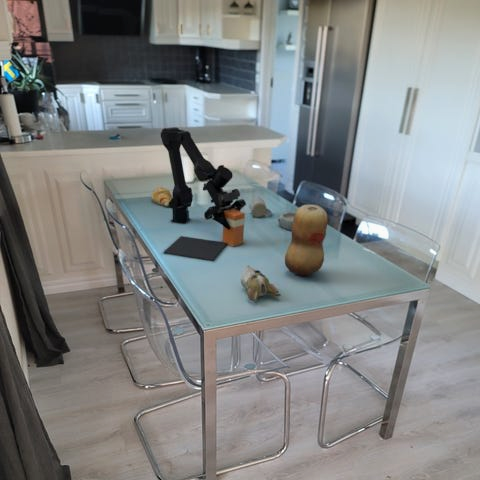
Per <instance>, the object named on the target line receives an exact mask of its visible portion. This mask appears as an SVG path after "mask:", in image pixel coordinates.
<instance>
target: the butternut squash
mask: <svg viewBox="0 0 480 480" xmlns="http://www.w3.org/2000/svg"><path fill="white" fill-rule="evenodd" d="M294 212H295V215H294V219H293V223H292V230H291V240H290V243H289V246H288V247H287V250H286V252H285V255H284V264H285V267H286V268H287V270H289V272H290V273H293V274H295V275H299V276H301V277H308V276H310V275H313V274H315V273H317V272H319V270H321V268H322V267H323V264H324V262H325V251H324V246H323V245H324V244H323V243H324V240H325V239H326V235H327V228H328V221H329V220H328V219H329V218H328V213H327V212H326V210H325V209H324V208H323V207H321V206H320V205H317V204H304V205H303V204H302V205H301V206H299V207H298V208H297V210H296V211H294Z"/></svg>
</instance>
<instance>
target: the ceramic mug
mask: <svg viewBox="0 0 480 480" xmlns="http://www.w3.org/2000/svg"><path fill="white" fill-rule="evenodd" d="M248 207H249V210H250V213H251V214H252V215H253V216H254V217H256V218H262V217H264V216H265V215H266V216H268V217H271V216H272V214H273V211H272V210H270V209H269V208H267V205H266V202H265V200H264V199H263V198H262V197H259V196H255V197H253V198H251V200H250V201H249V204H248Z"/></svg>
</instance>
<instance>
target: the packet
mask: <svg viewBox="0 0 480 480" xmlns="http://www.w3.org/2000/svg"><path fill="white" fill-rule="evenodd" d="M224 214H225V218H226V220H227V222H228V223H229V226H230V230H228V229H227V228H225V227H224V226H223V225H222V242H224V243H227V245H229V246H231V247H232V248H234V247H236V246H240V245H242V244H244V233H245V232H244V231H245V219H246V218H245V217H246V213H245V212H243V211H241V210H240V211H238V210H236V209H230V210H226V211H224Z"/></svg>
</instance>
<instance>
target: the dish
mask: <svg viewBox="0 0 480 480" xmlns="http://www.w3.org/2000/svg"><path fill="white" fill-rule="evenodd" d="M295 212H296V211H287V212H283V213H281V214H280V216H278V218H277V222H278V223H279V226H280V227H281V228H283V229H286V230H289V231H292V223H293V219H294V215H295Z"/></svg>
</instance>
